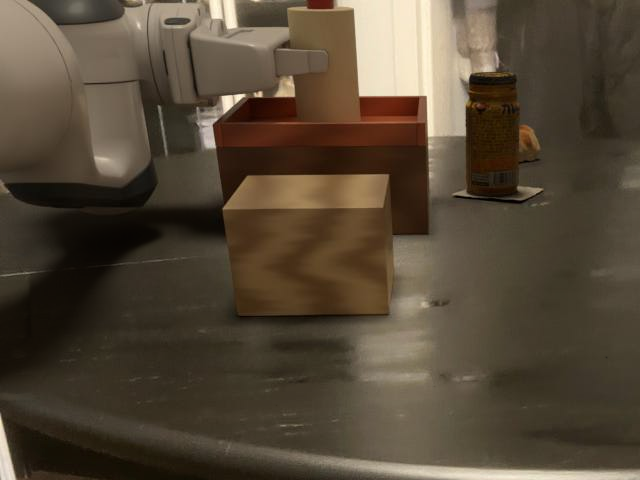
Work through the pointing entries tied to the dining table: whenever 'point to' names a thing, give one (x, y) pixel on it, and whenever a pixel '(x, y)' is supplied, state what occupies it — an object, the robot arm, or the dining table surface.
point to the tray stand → (332, 148)
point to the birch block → (311, 244)
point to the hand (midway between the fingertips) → (332, 56)
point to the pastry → (527, 144)
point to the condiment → (493, 138)
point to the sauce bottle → (342, 75)
